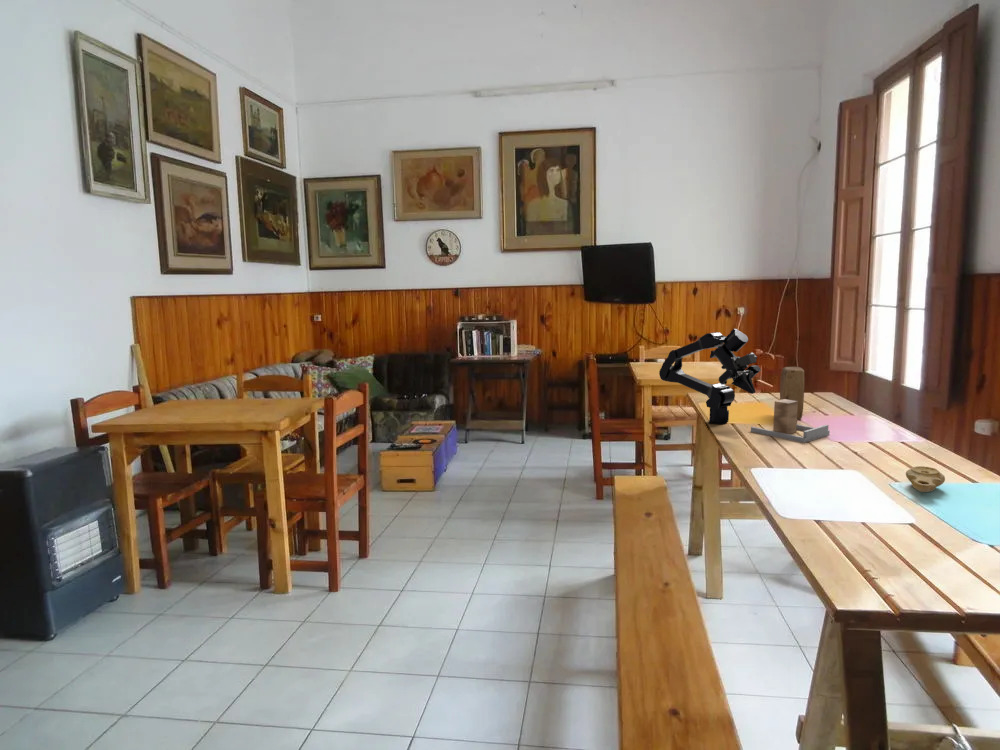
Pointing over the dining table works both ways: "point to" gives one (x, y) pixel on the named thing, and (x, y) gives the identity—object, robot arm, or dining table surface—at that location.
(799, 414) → the block
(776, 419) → the slider
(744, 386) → the robot arm
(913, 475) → the oil lamp
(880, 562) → the dining table surface
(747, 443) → the dining table surface
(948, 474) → the dining table surface
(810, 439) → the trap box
